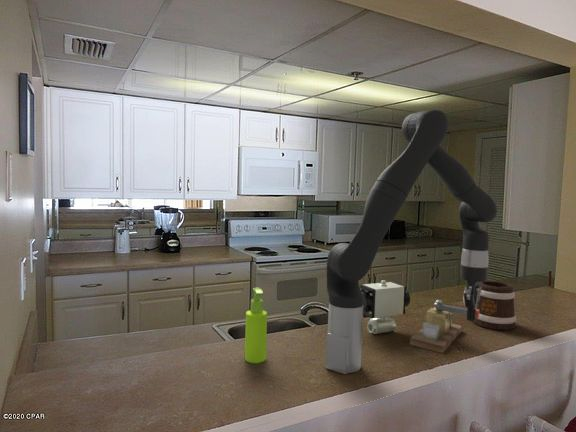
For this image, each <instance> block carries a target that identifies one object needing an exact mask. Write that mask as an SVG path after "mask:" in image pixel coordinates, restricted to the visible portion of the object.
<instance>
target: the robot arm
mask: <svg viewBox="0 0 576 432" xmlns="http://www.w3.org/2000/svg"><path fill="white" fill-rule="evenodd" d="M448 130H449V119H448V116H447V115H446V113H445V112H443V111H442V110H439V109H428V110H423V111H418V112H413V113H411V114H409V115H406V117H405V118H404V120H403V122H402V125H401V133H402V135H403V138H404V139H405V141H406V142H407V143H408V146H407V147H406V148H405V150H404V151H403V152H402V153H401V154H400V155H399V156H398V157H397V158H396V159H395V160H394V161H392V163H390V164H389V165H388V166H387V167H386V168H385V169H384V170H383V171H382V172H381V174H380V175H379V176H378V178H377V179H376V181H375V183H374V184H373V186H372V187H371V189H370V190H369V192H368V194H367V197H366V200H365V204H364V208H363V214H362V218H361V219H362V220H361V221H360V225H359V227H358V229H357V231H356V232H355V235H353V237H352V239H351V241H350V242H349V243H347V242H339V243H337V244H335V245H334V246H332V247H331V249H330V250H329V252H328V255H327V259H326V291H327V294H328V313H327V314H328V317H327V333H326V341H325V343H326V346H325V369H328V370H330V371H333V372H337V373H340V374H343V375H347V374H350V373H351V374H352V373H356V372H358V371H360V370H361V365H362V346H363V345H362V344H363V342H362V341H363V323H364V322H363V319H364V314H363V302H364V297H363V293H362V292H361V290H360V284H359V281H360V280H362V279H363V278H364V277H365V276H366V275H367V274H368V272H369V271H370V269H371V266H372V265H373V262H374V261H375V258H376V255H377V253H378V251H379V249H380V246H381V244H382V241H383V240H384V238H385V236H386V235H387V233H388V231H389V230H390V228H391V225H392V223H393V222H394V220H395V219H396V217H397V215H398V213H399V212H400V211H401V209H402V207H403V205H404V203H405V202H406V200H407V198H408V196H409V195H410V192H411V191H412V189H413V187H414V185H415V184H416V182H417V180H418V178H419V176H420V175H421V173H422V172H423V170H424V168H425V166H426V165H427V164H428V165H429V167H431V168H432V169H433V171H434V172H435V173H436V174H437V176H439V178H440V179H441V181H442V182H443V183H444V185H445V187H446V188H447V189H448V191H449V192H450V194H451V195H452V196H453V198H454V199H455V200H457V201H459V202H461V203H460V204H459V208H458V217H459V221H460V222H459V223H460V227H461V230H462V234H463V235H462V236H463V238H462V239H463V240H462V252H461V257H460V258H461V259H460V272H459V273H460V274H459V275H460V276H459V277H460V279H461V280H463V281H466V284H465V285H464V290H465V293H464V292H463V296H464V300H465V305H464V306H465V308H466V309H467V315H466V320H467V321H469V322H473V321H475V319H476V308H477V305H478V304H479V299H480V293H481V286H479V284H480V282H485V281H488V276H489V275H488V274H489V273H488V272H489V261H490V260H489V259H490V257H489V246H490V245H489V244H490V243H489V242H490V238H489V237H490V236H489V233H488V231H486V230H483V229H482V228H480V225H479V223H489V222H492V221H494V220H495V218H496V217H497V215H498V214H497V213H498V208H497V205H496V202H495V201H494V199H493V198H492V197H491V196H490V195H489V194H488V193H487V192H486V191H485V190H483V189H482V188H481V187H480V186H478V185H477V184H476V182H475V180H474V178H473V177H472V175H471V174H470V173H469V171H468V170H467V169H466V168H465V166H464V165H463V164H462V163H461V162H460V161H458V160H457V159H456V158H455V157H453V156H452V155H450V154H449V153H448V152H447V151H446V150H445V149H444V148H443V147H442V146H441V144H442V143H443V141H444V140H445V138H446V136H447V133H448Z"/></svg>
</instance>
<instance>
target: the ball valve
mask: <svg viewBox="0 0 576 432" xmlns="http://www.w3.org/2000/svg"><path fill="white" fill-rule="evenodd" d="M359 287H360V290H361V292H362V293H363V297H364V302H363V316H366V317H368V318H369V321H367V324H366V328H367V331H368V332H369V333H371V334H375V335H377V334H382V333H390V332H392V331H395V329H396V327H397V324H396V321H395V319H393V318H392V317H393V316H394V317H395V316H402V315H406V310H407V307H408V306H409V305H410V303H411V295H410V292H409V290H408V289H407V286H406V285H403V284H399V283H397V282H395V281H389V282H388V281H387V280H385V279H383V280H381V281H380V282H376V283H366V284H364V283H363V284H359Z"/></svg>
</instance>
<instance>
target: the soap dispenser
mask: <svg viewBox="0 0 576 432" xmlns="http://www.w3.org/2000/svg"><path fill="white" fill-rule="evenodd" d="M252 291H253V298H252V299H250V310H247V311H246V312H245V335H244V337H245V338H244V344H245V345H244V360H245V361H246V362H247V363H250V364H251V363H252V364H260V363H263V362H265V361H266V359H267V337H268V336H267V334H268V333H267V328H268V311H266V310H264V306H263V305H264V300H263V299H262V298H261V295H264V292H263V291H264V290H263V289H262V288H261V287H252Z"/></svg>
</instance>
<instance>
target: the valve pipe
mask: <svg viewBox="0 0 576 432" xmlns="http://www.w3.org/2000/svg"><path fill="white" fill-rule="evenodd" d="M425 315H426V317H425V322H423V323H422V328H423V332H422V338H425V339H429V340H433V341H438V338H439V337H440V336H445V335H446V334H447V333H448V332H449V327H451V324H453V323H452V322H453V321H452V320H453V312H447V311H442V312H439V311H435V310H434V307H430V308H429V309H427V311H426V314H425Z"/></svg>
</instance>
